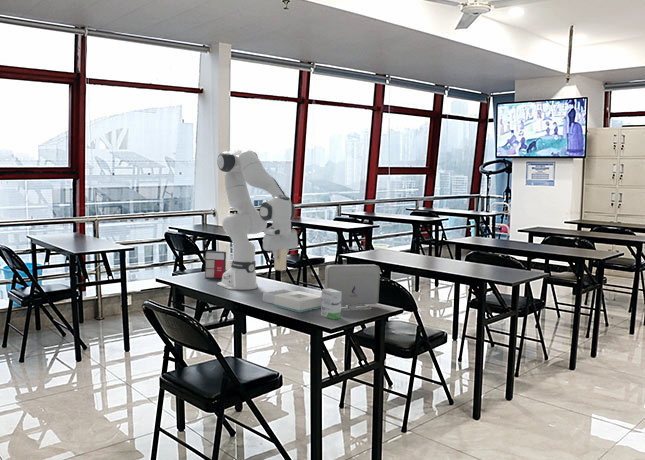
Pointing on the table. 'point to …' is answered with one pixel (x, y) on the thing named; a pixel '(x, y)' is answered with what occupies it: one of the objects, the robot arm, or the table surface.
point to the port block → (298, 301)
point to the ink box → (331, 303)
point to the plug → (281, 260)
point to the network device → (354, 284)
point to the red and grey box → (215, 264)
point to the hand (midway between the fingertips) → (280, 258)
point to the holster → (273, 295)
